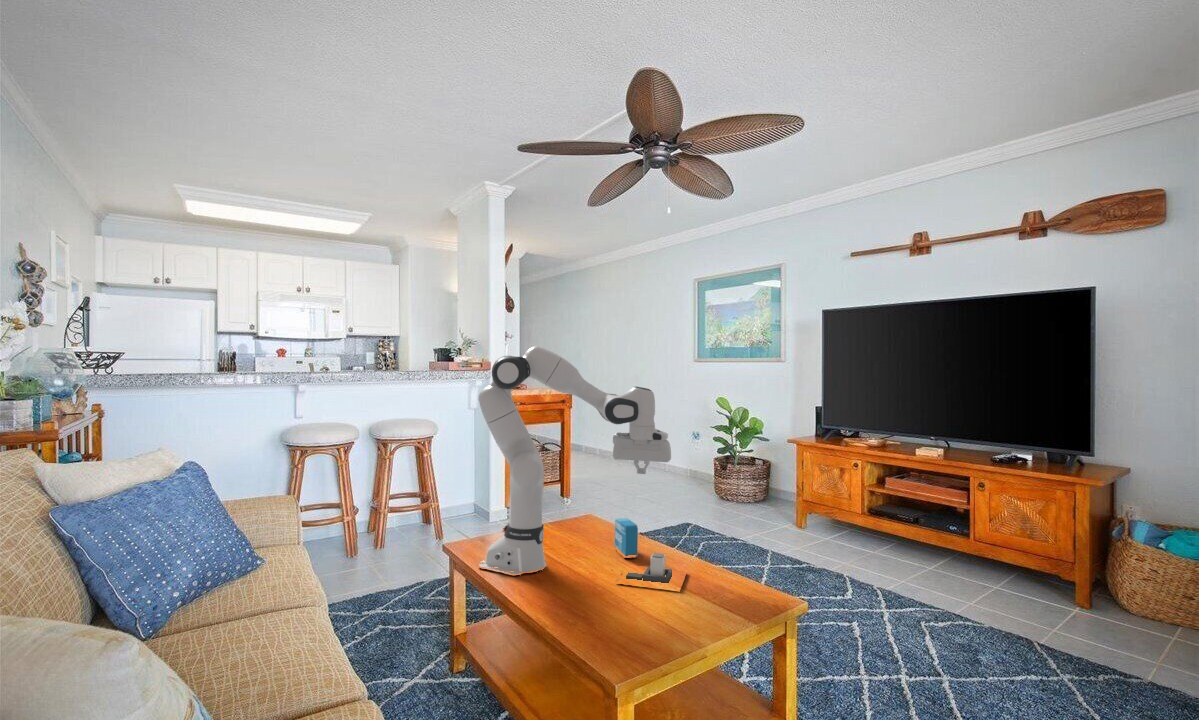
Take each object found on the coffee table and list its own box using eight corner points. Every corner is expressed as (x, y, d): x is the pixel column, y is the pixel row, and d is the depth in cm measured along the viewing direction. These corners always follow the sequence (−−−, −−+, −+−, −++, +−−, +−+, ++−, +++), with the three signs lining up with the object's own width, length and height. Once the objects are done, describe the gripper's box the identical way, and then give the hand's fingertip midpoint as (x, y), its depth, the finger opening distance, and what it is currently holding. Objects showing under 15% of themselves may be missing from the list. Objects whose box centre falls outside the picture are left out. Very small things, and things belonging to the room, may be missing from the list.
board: (616, 584, 180) (616, 574, 180) (628, 567, 195) (628, 558, 196) (680, 592, 175) (680, 581, 175) (687, 574, 190) (687, 564, 190)
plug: (650, 579, 181) (650, 556, 181) (652, 574, 186) (653, 551, 186) (662, 581, 180) (663, 557, 180) (665, 576, 184) (665, 553, 185)
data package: (614, 549, 214) (614, 517, 214) (625, 548, 215) (626, 516, 216) (625, 560, 203) (626, 526, 203) (637, 559, 204) (638, 525, 204)
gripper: (610, 433, 200) (610, 473, 200) (669, 436, 194) (668, 477, 194) (615, 431, 206) (614, 470, 206) (672, 433, 200) (671, 473, 200)
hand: (641, 473), depth 200 cm, fingers closed
